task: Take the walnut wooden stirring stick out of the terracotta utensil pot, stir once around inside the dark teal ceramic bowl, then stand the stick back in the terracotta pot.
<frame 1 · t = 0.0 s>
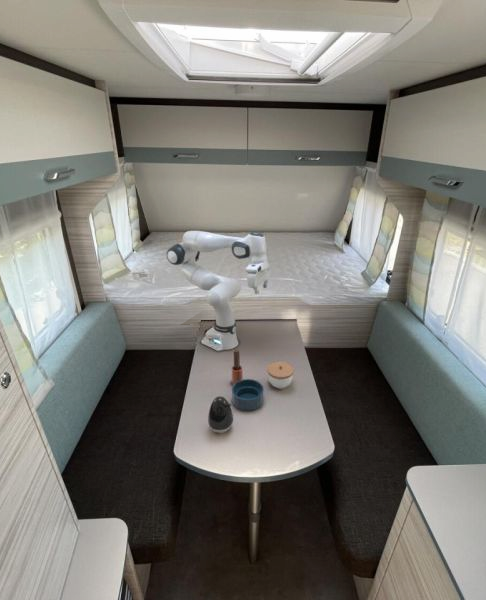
hand: (261, 290, 170), 39 cm above the table, tool pointing down, fingers open, 8 cm apart
black rounded egg shape: (221, 427, 135), on the table
utensil pot: (237, 383, 161), on the table
lidded bowl: (279, 384, 160), on the table
mixing bowl: (247, 401, 149), on the table
stirring stick: (237, 382, 161), point 1 cm above the table, touching utensil pot
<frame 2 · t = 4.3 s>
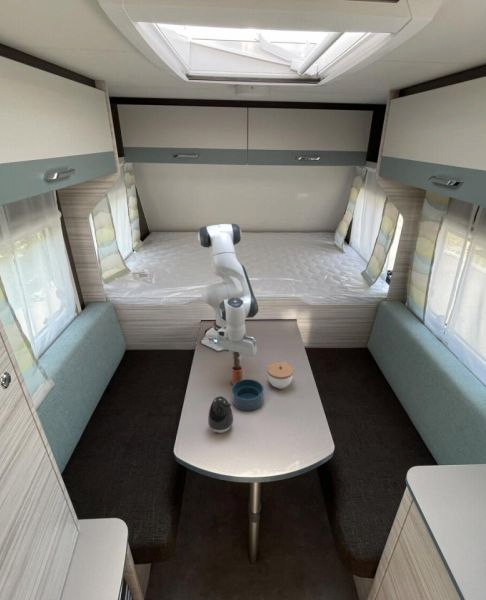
hand: (236, 358, 155), 15 cm above the table, tool pointing down, fingers closed on stirring stick, 2 cm apart
stirring stick: (237, 382, 161), point 1 cm above the table, touching gripper, utensil pot
everything else where it was.
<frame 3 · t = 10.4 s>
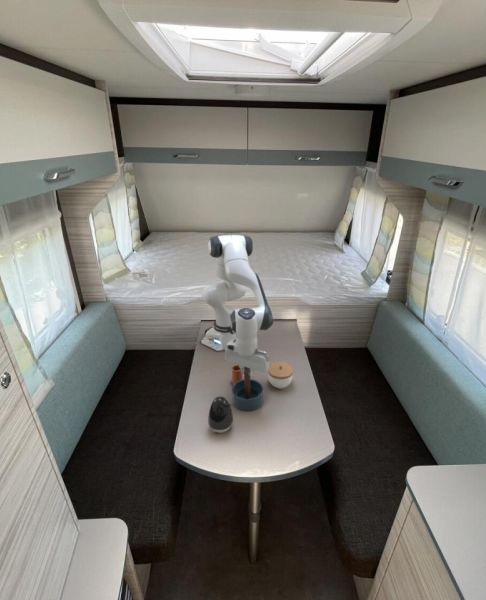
hand: (247, 374, 141), 16 cm above the table, tool pointing down, fingers closed on stirring stick, 2 cm apart
stirring stick: (247, 399, 146), point 2 cm above the table, touching gripper
everything else where it was.
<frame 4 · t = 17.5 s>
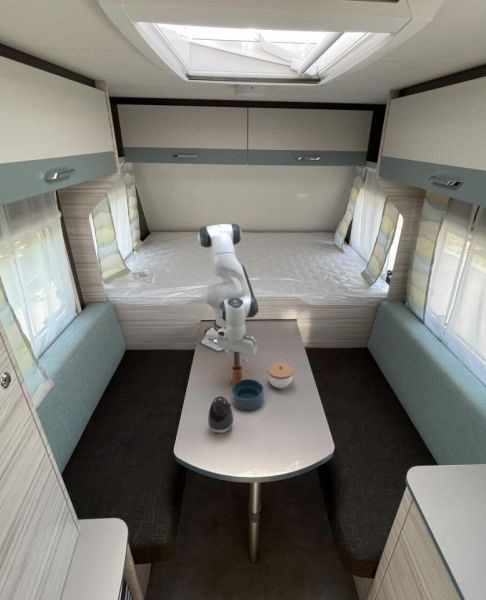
hand: (236, 358, 155), 15 cm above the table, tool pointing down, fingers open, 8 cm apart
stirring stick: (237, 382, 161), point 1 cm above the table, touching utensil pot
everything else where it was.
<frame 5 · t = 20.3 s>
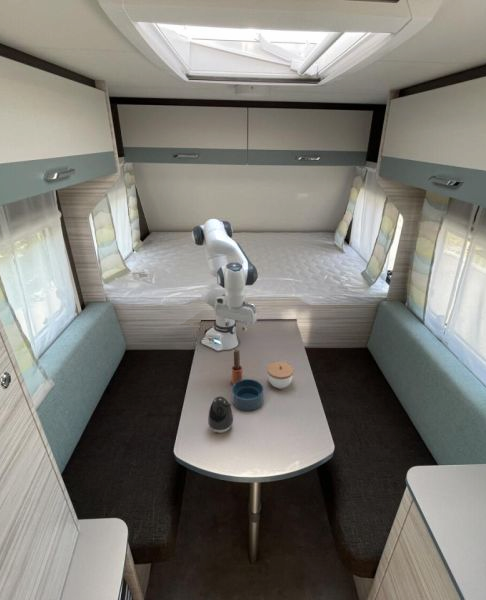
hand: (235, 327, 149), 31 cm above the table, tool pointing down, fingers open, 8 cm apart
nothing on the table moved.
at the end: stirring stick 0.1 cm off-centre in the utensil pot, point 0.6 cm above the utensil pot's base; stirring stick tilted 0°; lidded bowl moved 0.2 cm from its start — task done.
